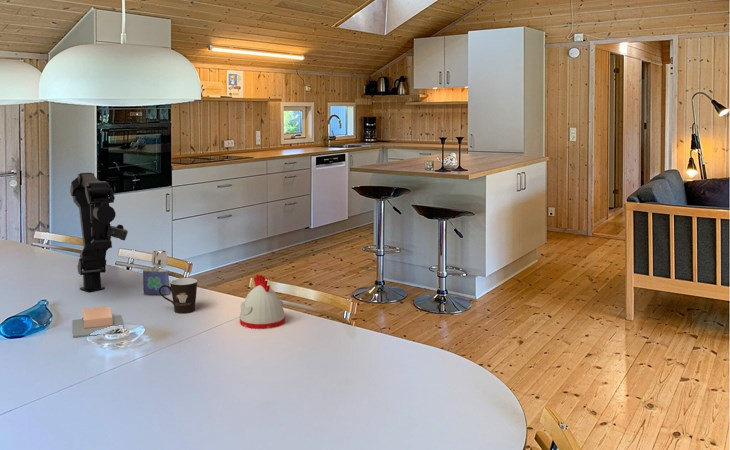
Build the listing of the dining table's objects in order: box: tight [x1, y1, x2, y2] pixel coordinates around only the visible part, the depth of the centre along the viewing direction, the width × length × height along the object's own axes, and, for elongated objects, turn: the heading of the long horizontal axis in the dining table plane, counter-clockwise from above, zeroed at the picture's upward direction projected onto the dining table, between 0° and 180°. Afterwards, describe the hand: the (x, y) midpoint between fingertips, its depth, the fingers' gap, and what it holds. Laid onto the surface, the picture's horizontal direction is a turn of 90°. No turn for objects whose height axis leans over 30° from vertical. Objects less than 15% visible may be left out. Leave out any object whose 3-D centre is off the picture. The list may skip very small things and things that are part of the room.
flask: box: [142, 265, 170, 297], centre depth 228 cm, size 9×3×11 cm, turn 87°
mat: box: [71, 314, 124, 339], centre depth 194 cm, size 16×14×1 cm
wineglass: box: [151, 249, 169, 270], centre depth 245 cm, size 6×6×12 cm
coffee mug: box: [159, 277, 198, 315], centre depth 211 cm, size 12×9×10 cm
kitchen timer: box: [239, 274, 286, 330], centre depth 200 cm, size 14×14×15 cm
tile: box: [82, 306, 113, 328], centre depth 197 cm, size 3×8×12 cm
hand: (102, 265), depth 216 cm, fingers closed
